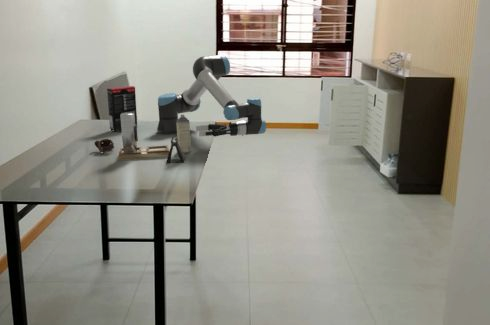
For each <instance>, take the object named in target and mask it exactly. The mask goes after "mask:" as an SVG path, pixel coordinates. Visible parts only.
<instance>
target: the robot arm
mask: <svg viewBox="0 0 490 325" xmlns="http://www.w3.org/2000/svg"><path fill="white" fill-rule="evenodd" d="M230 63H231V62H230V60H229V58H228V57H227V56H226V55H224V54H218V55H217V54H216V55H208V56H206V55H205V56H200V57H198V58H197V59H196V60H195V61H194V63H193V66H192V74H193V76H194V78H195V81H194V82H193V83H192V84H191V86H190V87H189V88H186V89H185V90H184V91H183V92H182V93H181V94H177V93H174V92H170V93H164V94H161V95H160V96H158V98H157V105H158V106H157V107H158V124H157V128H156V131H157V134H161V135H172V134H177V124H176V122H177V120H178V119H179V114H180V115H181V114H185V113H193V112H196V111H198V110H199V109H200V107H201V97H202V96H203V95H204V94H205V92H206V91H208V92H209V93H210V94H211V96H212V97H213V98H214V99H215V100H216V101H217V102H218V104H219V105H220V106H221V107H222V109H223V115H224V118H225V119H226V121H229V123H228V125H227V124H226V123H225V124H220V123H219V124H217V123H215V124H214V123H213V124H212V123H209V124H204V125H195V131H196V132H198V136H199V137H209V136H210V137H211V136H212V137H220V136H224V135H230V136H231V137H233V136H235V137H236V136H241V137H244V136H246V135H260V134H265V133H266V131H267V124H266V121H265V119H262V99H261V98H258V97H249V98H247V99H246V102H245V103H238V102H237V101H236V99H235V98H233V96H232V95H231V94H230V92H228V90H227V89H226V88H225V87H224V86H223V85H222V83H221V82H220V81H219V80H220V79H221V77H223V76H228V75H229V73H230V72H231V64H230ZM241 119H247V120H241ZM235 120H238V121H235ZM239 120H240V121H239Z"/></svg>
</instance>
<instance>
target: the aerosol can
mask: <svg viewBox="0 0 490 325" xmlns="http://www.w3.org/2000/svg"><path fill="white" fill-rule="evenodd" d="M176 124H177V133H176V135H177V136H176V137H177V138H178V144H179V146H180V149H181V151H182V153H183V154H189V153H191V152H192V143H191V126H190V120H189V119H188V118H187V117H186V116H185V113H181V114H180V116H179V117H178V120H177V122H176Z"/></svg>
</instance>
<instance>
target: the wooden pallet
mask: <svg viewBox="0 0 490 325" xmlns="http://www.w3.org/2000/svg"><path fill="white" fill-rule="evenodd" d="M169 151H170V147H169V145H168V144H167V145H155V146H154V145H153V146H146V148H142V147H140V146H139V147H138V146H137V152H131V153H124V151H123V147H122V148H119V150H118V154H117V156H118V161H119V160H120V161H129V160H131V161H132V160H133V161H134V160H143V159H145V160H146V159H156V158H157V159H158V158H168V154H169Z"/></svg>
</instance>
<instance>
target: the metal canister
mask: <svg viewBox="0 0 490 325" xmlns="http://www.w3.org/2000/svg"><path fill="white" fill-rule="evenodd" d="M120 118H121V129H122V130H121V136H122V137H121V138H122V139H121V140H122V148H123V151H124V153H131V152H137V147H138V141H139V139H138V138H139V136H138V123H137V124H135V116H134V113H123V114H120Z"/></svg>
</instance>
